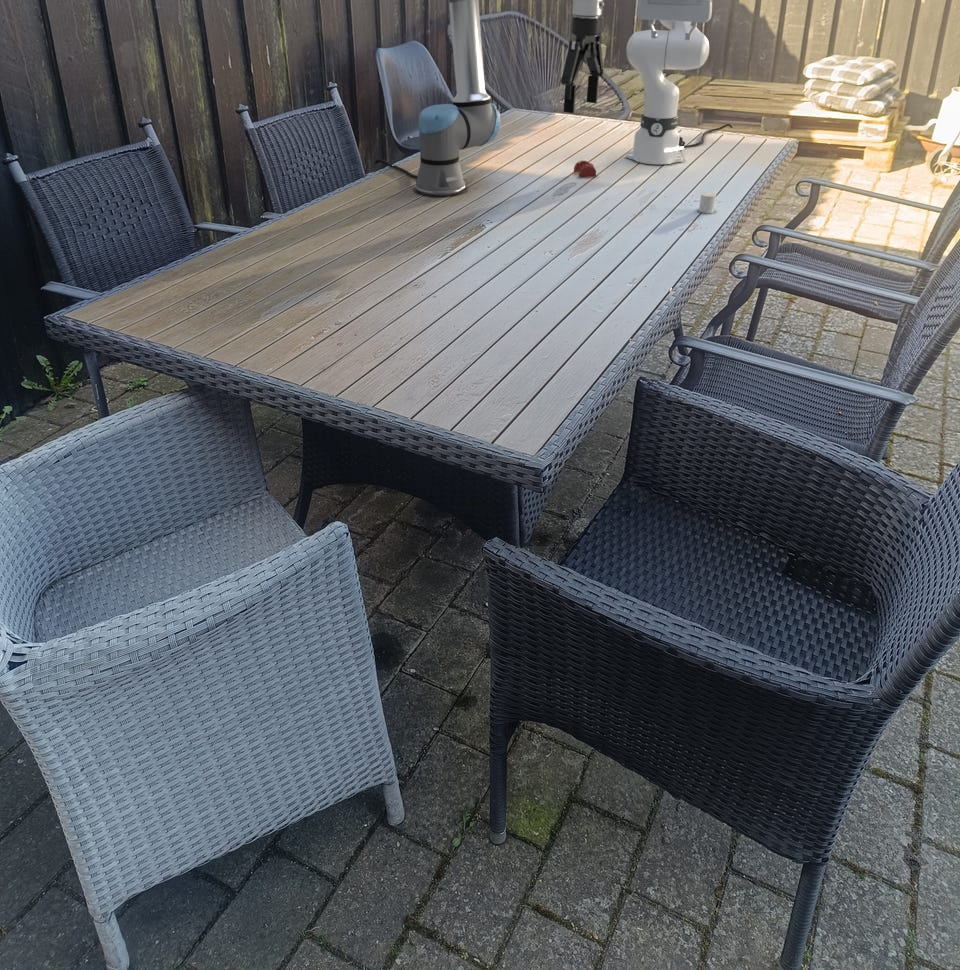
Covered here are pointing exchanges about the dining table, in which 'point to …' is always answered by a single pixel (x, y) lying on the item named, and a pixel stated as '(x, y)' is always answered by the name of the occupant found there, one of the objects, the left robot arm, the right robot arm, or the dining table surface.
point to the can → (707, 202)
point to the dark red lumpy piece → (584, 169)
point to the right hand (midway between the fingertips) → (670, 39)
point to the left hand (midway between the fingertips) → (580, 107)
